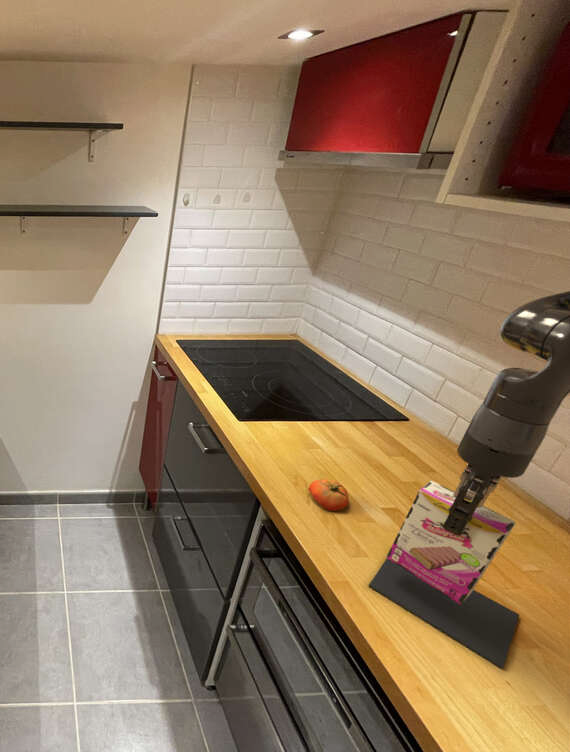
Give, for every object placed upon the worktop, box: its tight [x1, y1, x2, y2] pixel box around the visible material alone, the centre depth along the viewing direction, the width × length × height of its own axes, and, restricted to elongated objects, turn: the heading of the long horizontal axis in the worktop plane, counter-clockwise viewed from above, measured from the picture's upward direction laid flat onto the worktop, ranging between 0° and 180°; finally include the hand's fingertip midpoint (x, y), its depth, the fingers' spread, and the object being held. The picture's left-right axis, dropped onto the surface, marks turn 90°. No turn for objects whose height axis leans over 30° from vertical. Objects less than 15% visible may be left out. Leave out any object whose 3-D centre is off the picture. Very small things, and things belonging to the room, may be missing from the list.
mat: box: [368, 557, 520, 670], centre depth 79 cm, size 18×14×1 cm
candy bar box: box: [386, 480, 516, 604], centre depth 75 cm, size 11×5×16 cm, turn 32°
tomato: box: [307, 478, 350, 512], centre depth 101 cm, size 8×7×7 cm
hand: (455, 522), depth 73 cm, fingers closed on candy bar box, 5 cm apart
